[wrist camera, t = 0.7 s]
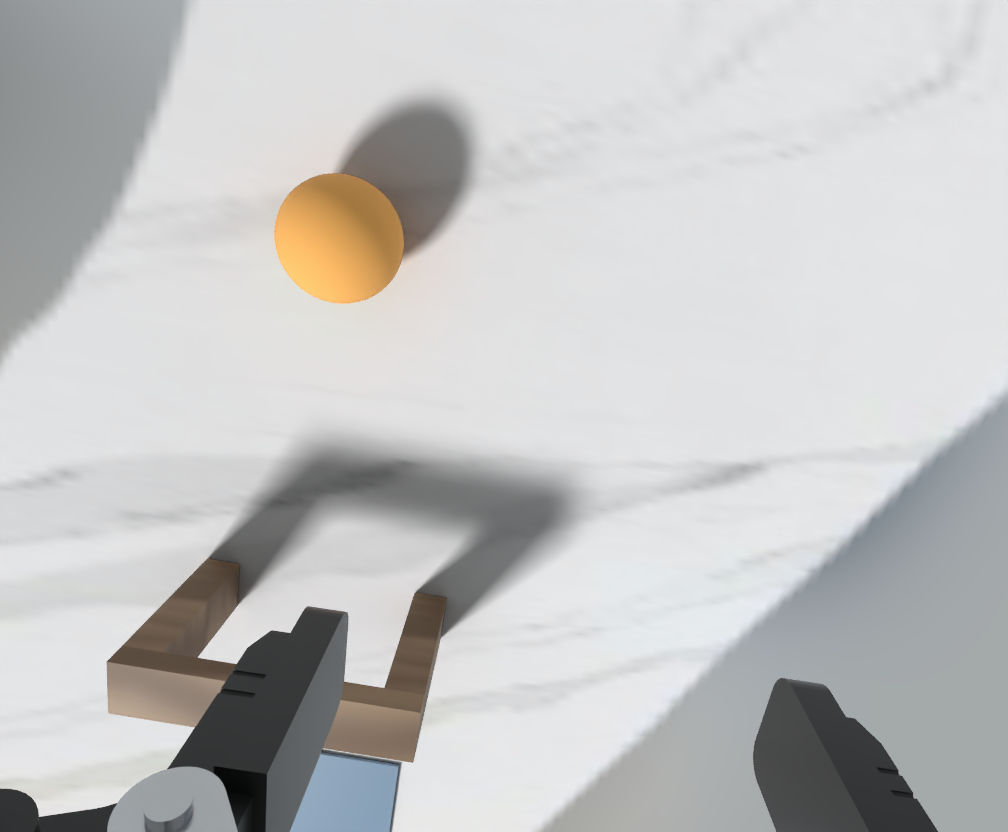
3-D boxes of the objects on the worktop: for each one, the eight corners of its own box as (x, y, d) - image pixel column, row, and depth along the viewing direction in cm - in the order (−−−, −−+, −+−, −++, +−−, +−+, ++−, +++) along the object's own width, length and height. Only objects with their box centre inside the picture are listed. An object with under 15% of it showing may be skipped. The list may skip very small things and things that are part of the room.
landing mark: (224, 736, 43) (223, 738, 43) (398, 764, 43) (398, 767, 43) (220, 866, 47) (218, 869, 46) (381, 892, 47) (380, 895, 46)
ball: (304, 169, 32) (255, 156, 27) (420, 188, 32) (396, 180, 27) (297, 286, 34) (249, 298, 28) (407, 305, 34) (381, 321, 28)
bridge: (207, 558, 39) (106, 661, 30) (446, 597, 39) (420, 712, 30) (206, 600, 40) (108, 713, 31) (440, 638, 40) (413, 762, 31)
